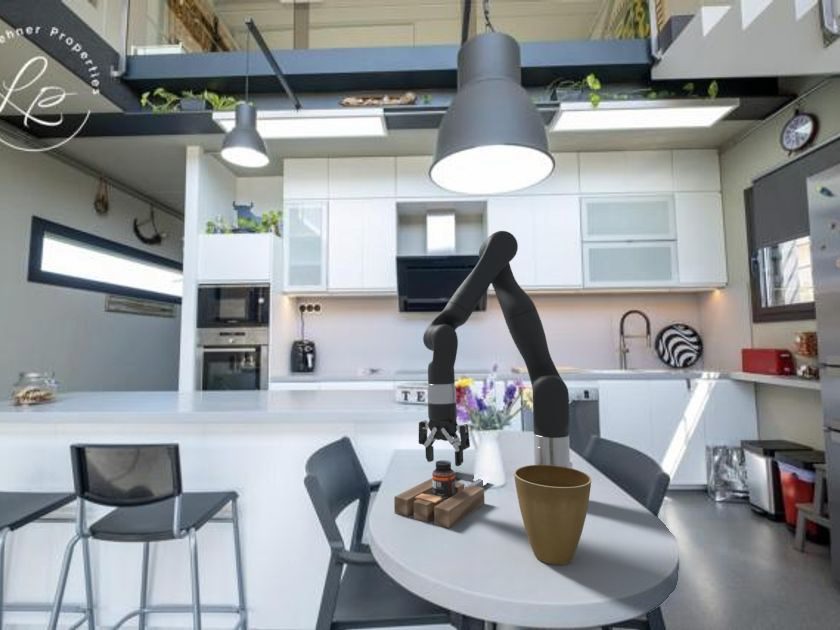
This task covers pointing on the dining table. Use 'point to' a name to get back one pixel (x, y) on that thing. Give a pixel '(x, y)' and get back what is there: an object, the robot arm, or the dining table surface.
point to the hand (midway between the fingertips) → (444, 463)
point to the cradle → (468, 478)
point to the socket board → (439, 503)
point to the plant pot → (553, 509)
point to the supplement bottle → (443, 480)
